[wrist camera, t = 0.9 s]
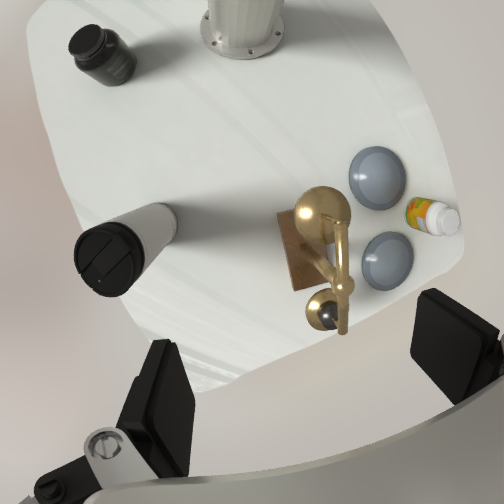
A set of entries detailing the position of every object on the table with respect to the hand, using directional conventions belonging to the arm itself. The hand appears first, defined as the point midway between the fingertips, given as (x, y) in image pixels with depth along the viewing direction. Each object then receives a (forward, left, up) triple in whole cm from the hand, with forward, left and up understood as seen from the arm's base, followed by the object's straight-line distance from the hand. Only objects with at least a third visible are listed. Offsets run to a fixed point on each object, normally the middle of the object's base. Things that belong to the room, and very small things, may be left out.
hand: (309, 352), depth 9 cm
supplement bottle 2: (+5, +28, -32) cm, 43 cm away
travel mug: (-3, -13, -32) cm, 35 cm away
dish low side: (+12, +21, -32) cm, 40 cm away
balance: (+6, +7, -32) cm, 33 cm away
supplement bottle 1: (-29, -14, -32) cm, 45 cm away
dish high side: (-2, +21, -32) cm, 38 cm away
